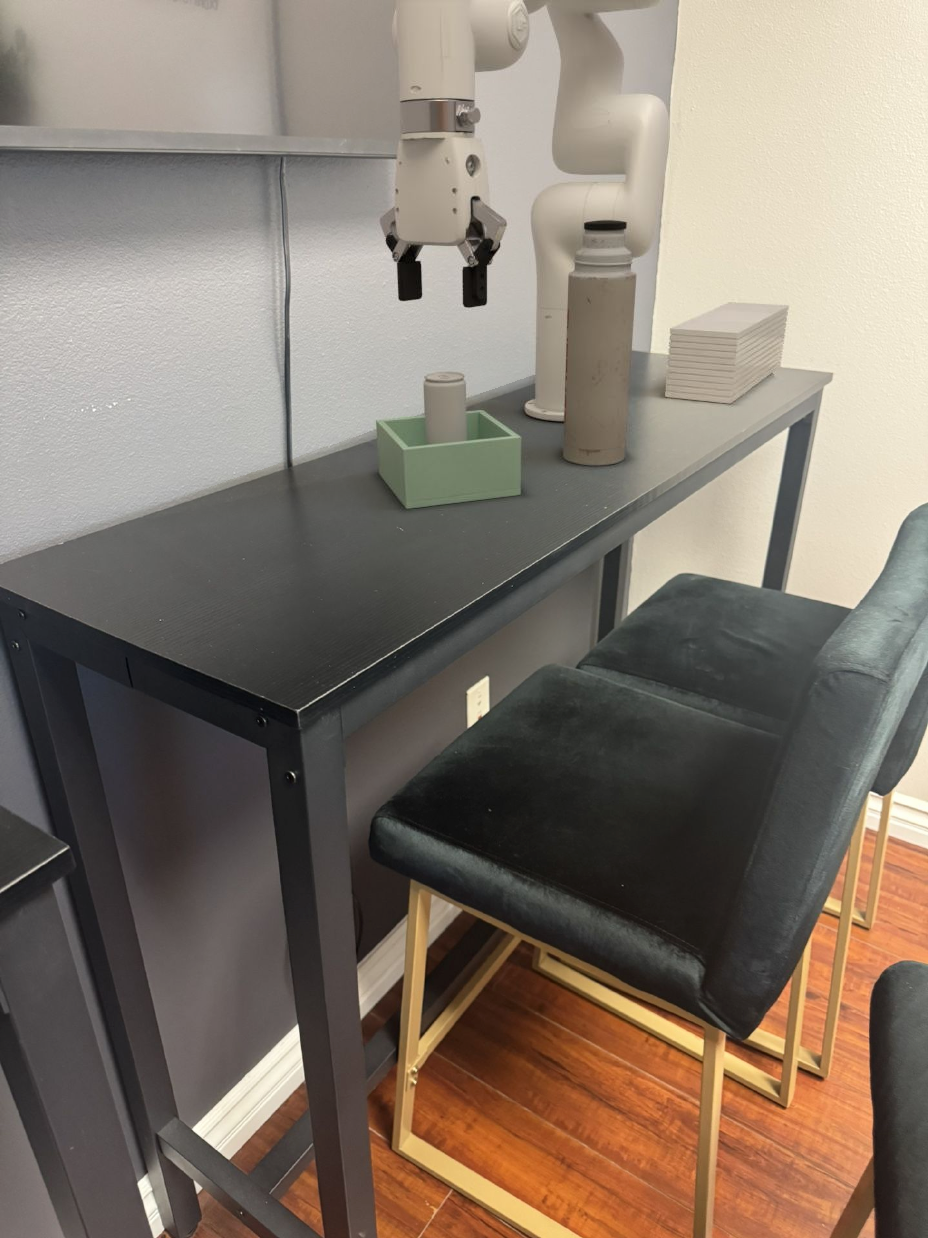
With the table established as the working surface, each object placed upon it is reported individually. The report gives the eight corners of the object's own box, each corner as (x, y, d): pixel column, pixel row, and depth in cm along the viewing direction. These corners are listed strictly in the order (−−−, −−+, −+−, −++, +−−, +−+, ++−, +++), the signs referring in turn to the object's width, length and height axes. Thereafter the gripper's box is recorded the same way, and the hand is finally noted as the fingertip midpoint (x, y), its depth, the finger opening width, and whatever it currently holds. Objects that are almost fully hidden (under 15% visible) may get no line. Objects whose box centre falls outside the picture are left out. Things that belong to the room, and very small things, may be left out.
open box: (379, 474, 111) (375, 419, 108) (483, 462, 115) (482, 409, 112) (406, 509, 100) (403, 449, 96) (520, 495, 103) (521, 436, 100)
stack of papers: (730, 403, 140) (738, 332, 135) (664, 397, 145) (670, 327, 140) (780, 366, 164) (788, 305, 159) (722, 361, 169) (729, 301, 164)
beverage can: (432, 485, 104) (428, 381, 99) (422, 473, 108) (418, 372, 103) (472, 481, 105) (470, 378, 100) (461, 470, 109) (459, 369, 104)
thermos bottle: (552, 460, 115) (558, 221, 102) (577, 445, 121) (586, 218, 108) (611, 469, 111) (625, 222, 99) (634, 452, 117) (649, 218, 105)
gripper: (528, 120, 87) (525, 305, 95) (404, 128, 98) (410, 294, 105) (477, 117, 82) (478, 312, 90) (352, 126, 93) (362, 300, 100)
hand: (441, 302), depth 98 cm, fingers open, 9 cm apart
